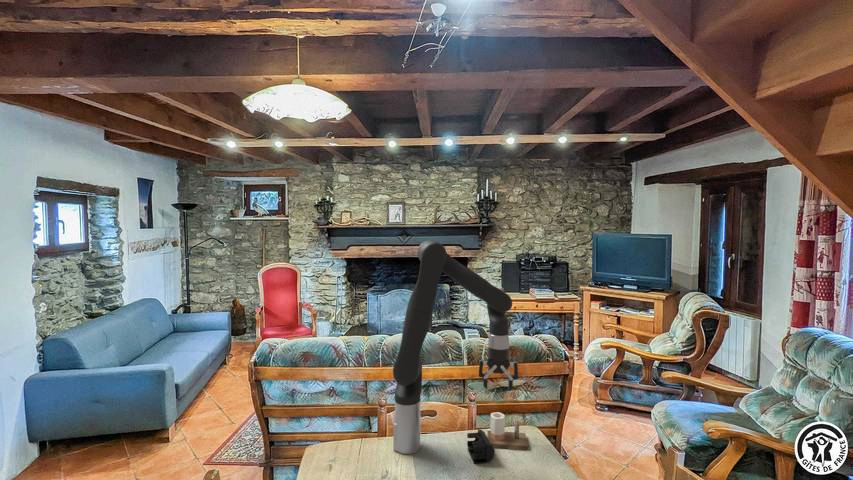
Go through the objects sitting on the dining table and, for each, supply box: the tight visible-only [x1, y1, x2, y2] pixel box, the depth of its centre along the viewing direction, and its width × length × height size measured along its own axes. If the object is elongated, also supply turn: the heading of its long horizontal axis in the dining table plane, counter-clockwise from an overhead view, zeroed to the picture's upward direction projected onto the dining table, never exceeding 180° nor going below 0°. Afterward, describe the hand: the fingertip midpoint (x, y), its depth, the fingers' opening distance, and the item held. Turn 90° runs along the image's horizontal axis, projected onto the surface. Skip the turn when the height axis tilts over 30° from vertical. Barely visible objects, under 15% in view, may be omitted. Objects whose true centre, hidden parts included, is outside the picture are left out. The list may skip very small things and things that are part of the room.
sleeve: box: [490, 411, 506, 440], centre depth 145 cm, size 5×5×8 cm
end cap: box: [466, 429, 496, 465], centre depth 136 cm, size 10×7×7 cm
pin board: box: [487, 421, 529, 451], centre depth 145 cm, size 14×9×7 cm, turn 83°
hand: (497, 388), depth 145 cm, fingers open, 8 cm apart
